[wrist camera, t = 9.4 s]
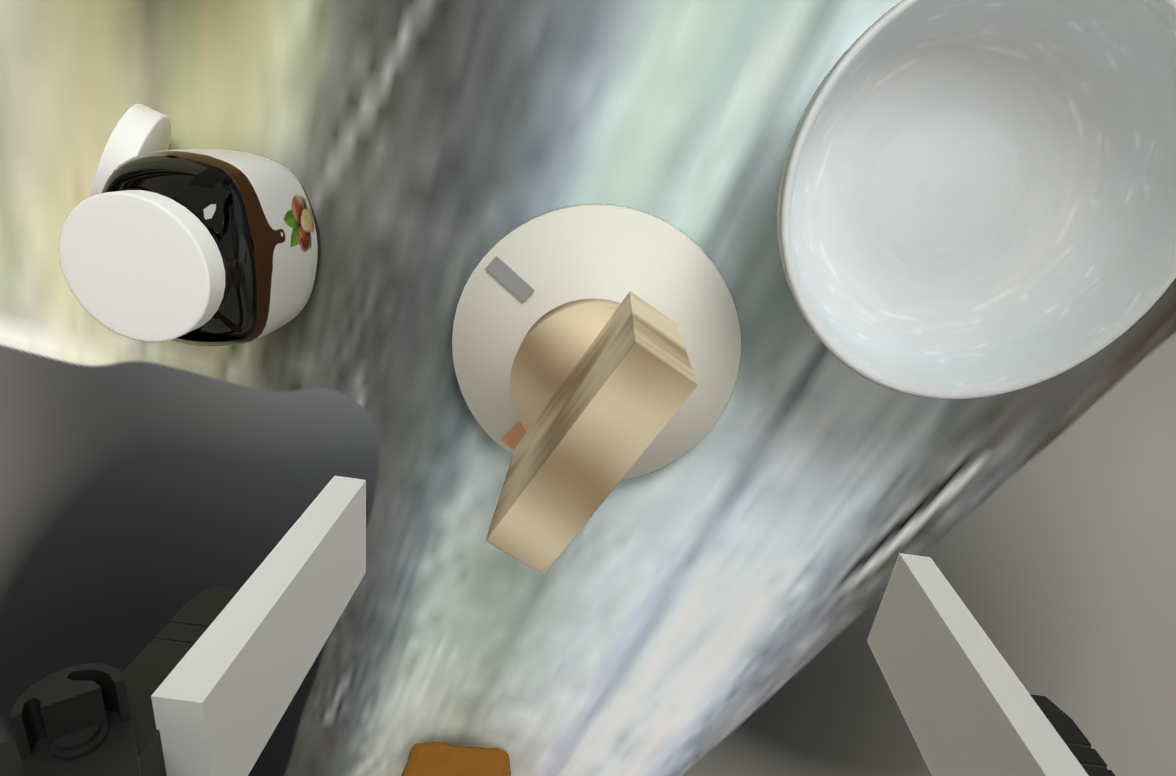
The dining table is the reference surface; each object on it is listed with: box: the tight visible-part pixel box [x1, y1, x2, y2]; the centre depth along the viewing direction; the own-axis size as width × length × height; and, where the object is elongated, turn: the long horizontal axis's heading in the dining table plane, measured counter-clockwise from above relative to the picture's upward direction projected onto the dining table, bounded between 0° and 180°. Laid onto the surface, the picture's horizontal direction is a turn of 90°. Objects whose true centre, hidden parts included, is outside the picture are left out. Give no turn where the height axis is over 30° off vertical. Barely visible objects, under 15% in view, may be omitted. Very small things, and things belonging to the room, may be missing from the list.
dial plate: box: [452, 204, 741, 481], centre depth 40 cm, size 18×18×5 cm
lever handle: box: [486, 291, 698, 575], centre depth 32 cm, size 12×9×11 cm
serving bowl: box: [777, 0, 1176, 399], centre depth 35 cm, size 21×21×7 cm
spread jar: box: [59, 104, 320, 346], centre depth 34 cm, size 12×11×12 cm
